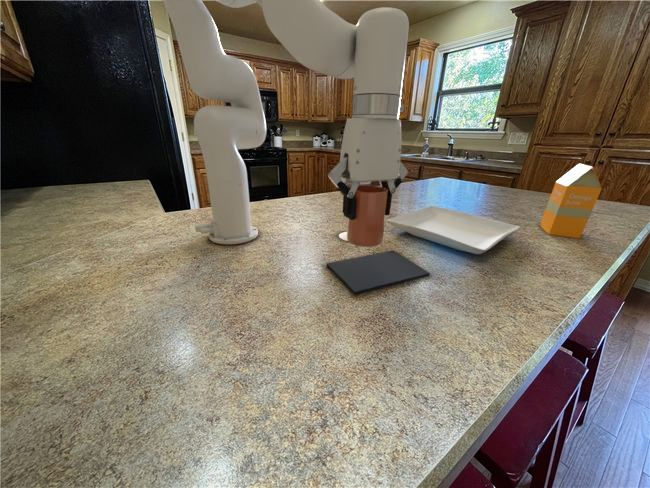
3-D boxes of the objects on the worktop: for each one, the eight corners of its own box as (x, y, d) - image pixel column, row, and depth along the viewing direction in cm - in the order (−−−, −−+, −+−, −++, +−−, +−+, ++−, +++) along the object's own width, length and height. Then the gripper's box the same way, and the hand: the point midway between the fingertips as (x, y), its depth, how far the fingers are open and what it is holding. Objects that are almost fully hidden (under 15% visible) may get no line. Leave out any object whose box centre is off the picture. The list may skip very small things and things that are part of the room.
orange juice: (548, 234, 80) (574, 165, 72) (539, 225, 88) (562, 162, 80) (580, 238, 77) (612, 167, 69) (568, 229, 85) (595, 163, 77)
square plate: (481, 264, 61) (486, 249, 59) (384, 230, 79) (385, 218, 78) (518, 237, 77) (522, 224, 76) (430, 214, 96) (432, 203, 94)
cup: (358, 249, 48) (363, 194, 44) (340, 236, 54) (343, 186, 50) (389, 243, 51) (396, 191, 47) (369, 231, 56) (373, 184, 52)
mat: (354, 294, 48) (355, 291, 48) (326, 265, 58) (326, 263, 58) (429, 275, 56) (430, 273, 55) (393, 252, 65) (393, 250, 65)
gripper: (402, 112, 50) (391, 206, 57) (317, 108, 43) (316, 214, 50) (433, 111, 43) (416, 216, 51) (338, 105, 37) (334, 227, 44)
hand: (366, 214), depth 50 cm, fingers closed on cup, 6 cm apart
